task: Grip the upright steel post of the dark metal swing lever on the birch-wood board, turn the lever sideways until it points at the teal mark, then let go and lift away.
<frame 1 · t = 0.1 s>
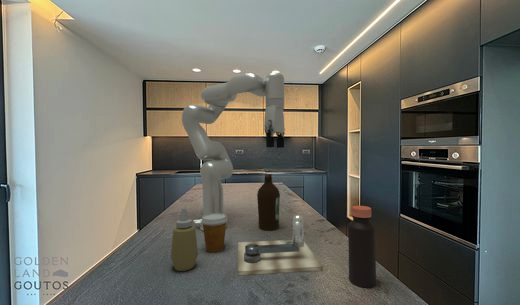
hand: (275, 147, 96), 37 cm above the countertop, tool pointing down, fingers open, 9 cm apart
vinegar: (362, 282, 64), on the countertop
lever: (274, 233, 76), point 9 cm above the countertop, hinge at 0.0°
squeeze bottle: (184, 267, 74), on the countertop
olive oil: (269, 228, 111), on the countertop
disposable coffee cup: (214, 249, 87), on the countertop
lever board: (252, 263, 76), on the countertop
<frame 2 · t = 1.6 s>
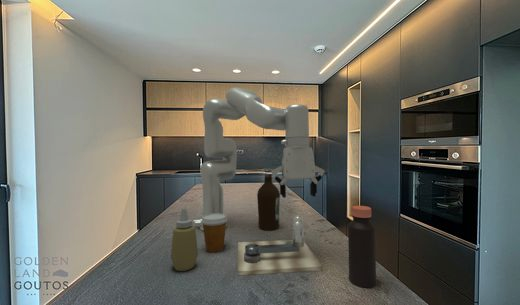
hand: (298, 196, 77), 21 cm above the countertop, tool pointing down, fingers open, 9 cm apart
nothing on the countertop moved.
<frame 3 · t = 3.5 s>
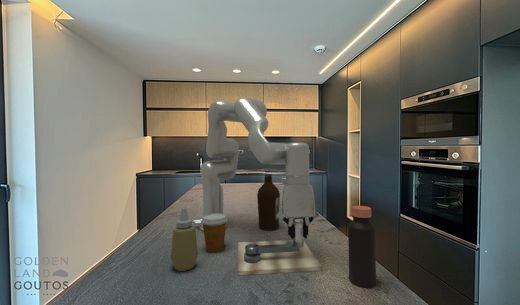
hand: (298, 236, 77), 8 cm above the countertop, tool pointing down, fingers closed on lever, 3 cm apart
lever: (274, 233, 76), point 9 cm above the countertop, hinge at 0.0°, touching gripper
everything else where it was.
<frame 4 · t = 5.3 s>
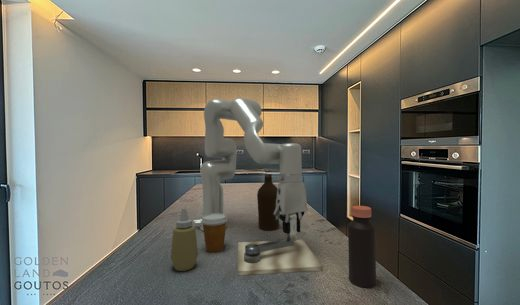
hand: (291, 231, 82), 8 cm above the countertop, tool pointing down, fingers closed on lever, 3 cm apart
lever: (272, 231, 79), point 9 cm above the countertop, hinge at 20.3°, touching gripper
everything else where it was.
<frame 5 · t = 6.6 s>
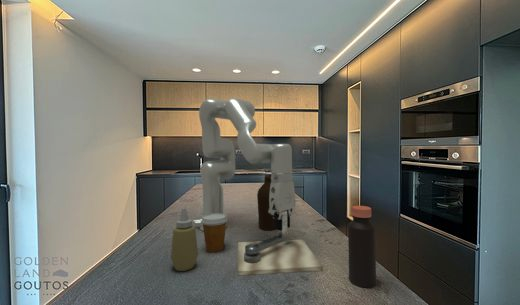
hand: (282, 227, 86), 8 cm above the countertop, tool pointing down, fingers closed on lever, 3 cm apart
lever: (267, 229, 81), point 9 cm above the countertop, hinge at 39.1°, touching gripper
everything else where it was.
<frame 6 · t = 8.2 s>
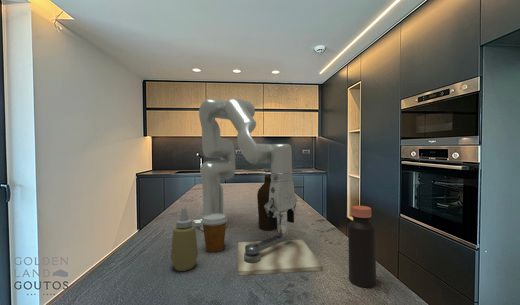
hand: (281, 225, 86), 9 cm above the countertop, tool pointing down, fingers open, 9 cm apart
lever: (267, 229, 81), point 9 cm above the countertop, hinge at 39.4°
everything else where it was.
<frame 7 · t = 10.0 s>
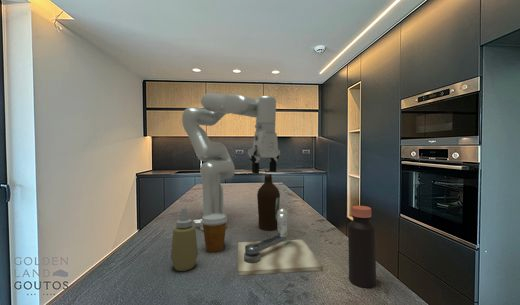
hand: (264, 172, 93), 27 cm above the countertop, tool pointing down, fingers open, 9 cm apart
nothing on the countertop moved.
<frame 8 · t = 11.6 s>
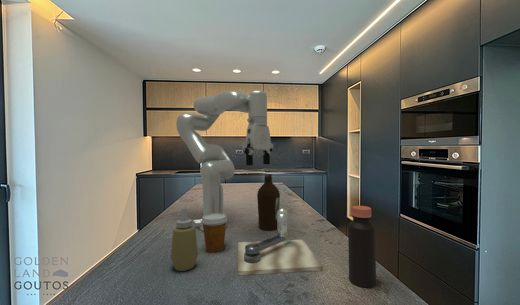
hand: (258, 164, 96), 30 cm above the countertop, tool pointing down, fingers open, 9 cm apart
nothing on the countertop moved.
at the end: lever at +39° (first picture: +0°); the gripper is holding nothing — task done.
